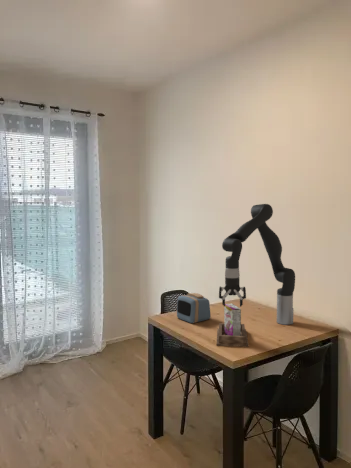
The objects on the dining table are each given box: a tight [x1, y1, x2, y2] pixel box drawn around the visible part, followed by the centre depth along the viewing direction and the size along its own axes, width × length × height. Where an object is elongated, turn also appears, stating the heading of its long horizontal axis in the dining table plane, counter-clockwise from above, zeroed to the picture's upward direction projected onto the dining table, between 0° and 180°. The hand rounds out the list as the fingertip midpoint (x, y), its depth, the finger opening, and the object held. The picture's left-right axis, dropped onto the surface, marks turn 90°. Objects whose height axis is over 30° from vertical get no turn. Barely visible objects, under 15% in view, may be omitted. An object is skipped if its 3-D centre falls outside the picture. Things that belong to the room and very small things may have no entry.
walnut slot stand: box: [216, 322, 249, 348], centre depth 210 cm, size 16×24×4 cm, turn 173°
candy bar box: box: [223, 303, 242, 336], centre depth 209 cm, size 11×5×16 cm, turn 17°
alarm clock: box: [176, 292, 212, 324], centre depth 243 cm, size 16×16×16 cm
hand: (232, 306), depth 208 cm, fingers open, 8 cm apart
